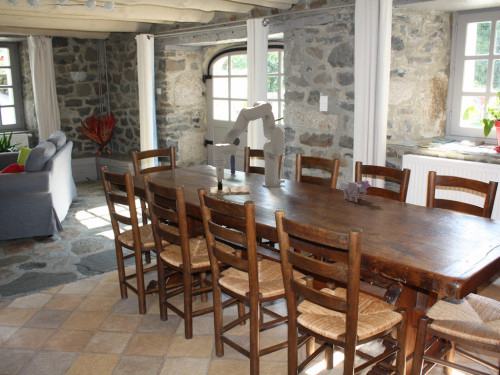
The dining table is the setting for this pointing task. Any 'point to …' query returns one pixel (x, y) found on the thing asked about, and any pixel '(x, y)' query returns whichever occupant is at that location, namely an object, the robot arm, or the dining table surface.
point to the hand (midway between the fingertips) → (220, 189)
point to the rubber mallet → (232, 159)
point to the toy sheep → (358, 187)
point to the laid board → (239, 190)
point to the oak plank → (219, 191)
